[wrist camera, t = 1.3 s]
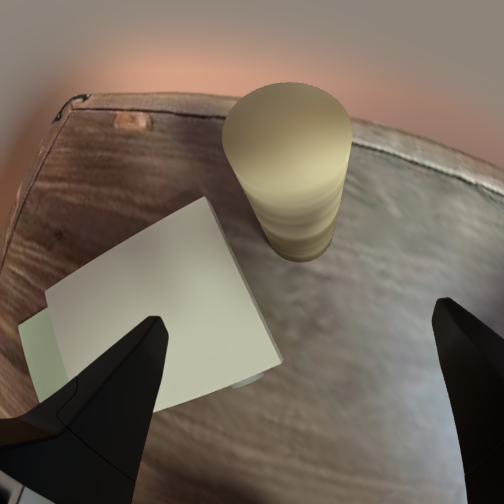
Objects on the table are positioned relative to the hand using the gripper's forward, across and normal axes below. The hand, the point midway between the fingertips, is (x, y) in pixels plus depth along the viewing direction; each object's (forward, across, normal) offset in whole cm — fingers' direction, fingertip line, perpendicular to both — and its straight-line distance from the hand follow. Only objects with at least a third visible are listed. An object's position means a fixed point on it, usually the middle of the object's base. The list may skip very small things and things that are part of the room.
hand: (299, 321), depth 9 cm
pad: (+7, +24, +12) cm, 27 cm away
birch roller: (+14, 0, +4) cm, 15 cm away
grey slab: (+9, +11, +9) cm, 17 cm away
